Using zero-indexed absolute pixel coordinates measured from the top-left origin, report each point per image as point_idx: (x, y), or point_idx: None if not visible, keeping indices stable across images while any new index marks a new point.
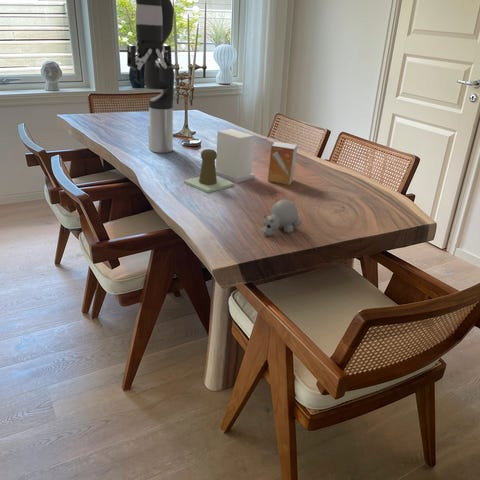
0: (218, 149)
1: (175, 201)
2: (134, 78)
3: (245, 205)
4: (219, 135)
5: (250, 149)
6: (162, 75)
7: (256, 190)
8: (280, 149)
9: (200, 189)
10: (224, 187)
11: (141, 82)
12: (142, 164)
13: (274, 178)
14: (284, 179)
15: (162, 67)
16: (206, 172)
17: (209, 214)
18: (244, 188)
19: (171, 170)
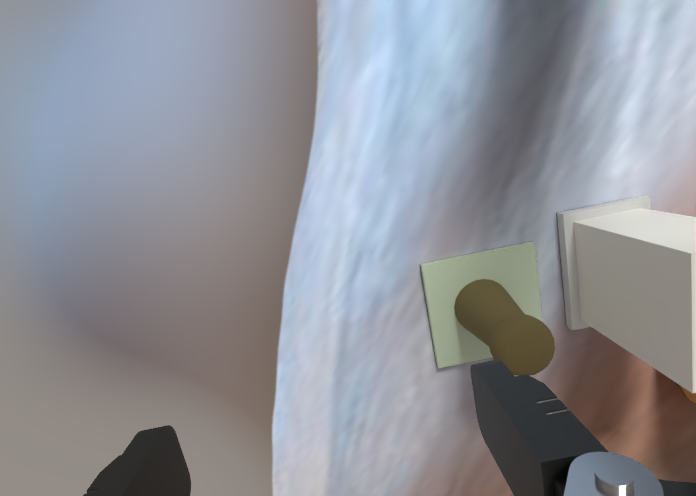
0: (627, 246)
1: (325, 383)
2: (100, 480)
3: (474, 469)
4: (676, 264)
5: None
6: (506, 468)
7: (572, 397)
8: None
9: (432, 337)
10: None
11: (188, 493)
12: (380, 16)
13: None
14: (692, 395)
15: None
16: (478, 338)
17: (362, 481)
18: (553, 372)
19: (445, 132)
